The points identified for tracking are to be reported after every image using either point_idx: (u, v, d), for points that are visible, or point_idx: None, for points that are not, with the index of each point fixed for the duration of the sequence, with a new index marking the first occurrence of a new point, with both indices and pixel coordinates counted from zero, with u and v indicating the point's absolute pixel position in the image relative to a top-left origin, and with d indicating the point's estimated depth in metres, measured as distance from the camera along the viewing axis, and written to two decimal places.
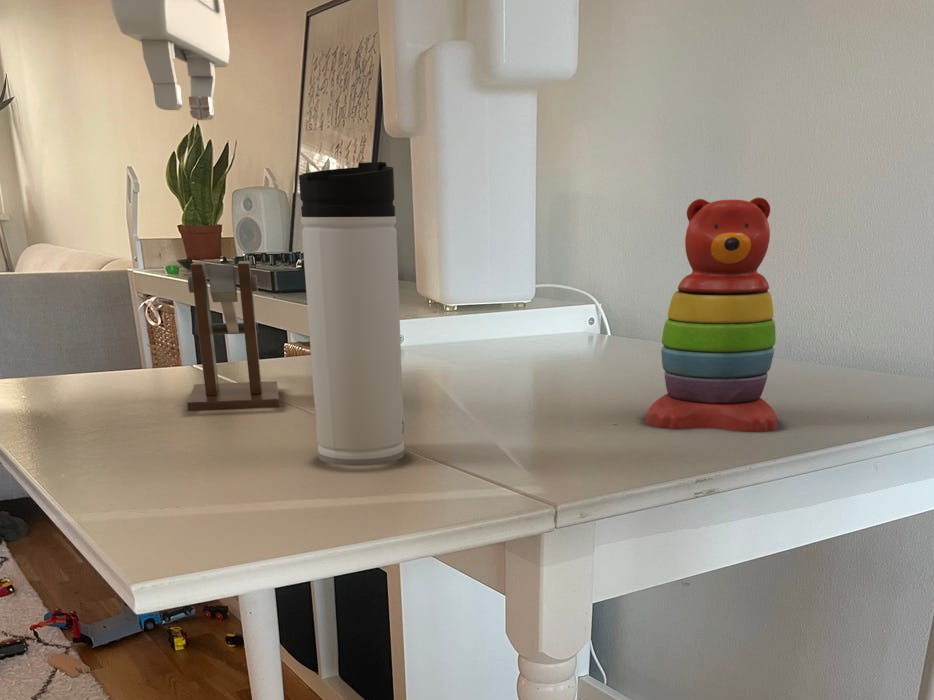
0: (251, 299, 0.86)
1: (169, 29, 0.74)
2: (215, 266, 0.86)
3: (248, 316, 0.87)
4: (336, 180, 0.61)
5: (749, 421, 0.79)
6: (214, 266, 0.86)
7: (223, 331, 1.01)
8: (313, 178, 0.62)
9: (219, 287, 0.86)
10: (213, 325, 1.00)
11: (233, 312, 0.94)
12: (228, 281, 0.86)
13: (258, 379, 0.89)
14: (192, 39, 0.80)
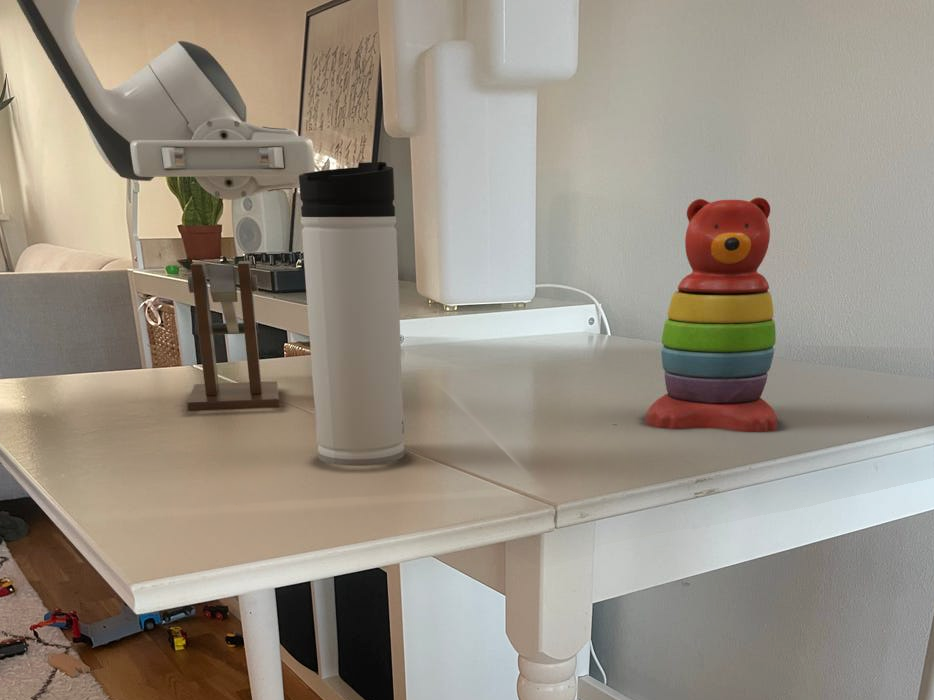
0: (251, 299, 0.86)
1: None
2: (215, 266, 0.86)
3: (248, 316, 0.87)
4: (336, 180, 0.61)
5: (749, 421, 0.79)
6: (214, 266, 0.86)
7: (223, 331, 1.01)
8: (313, 178, 0.62)
9: (219, 287, 0.86)
10: (213, 325, 1.00)
11: (233, 312, 0.94)
12: (228, 281, 0.86)
13: (258, 379, 0.89)
14: (246, 175, 1.11)
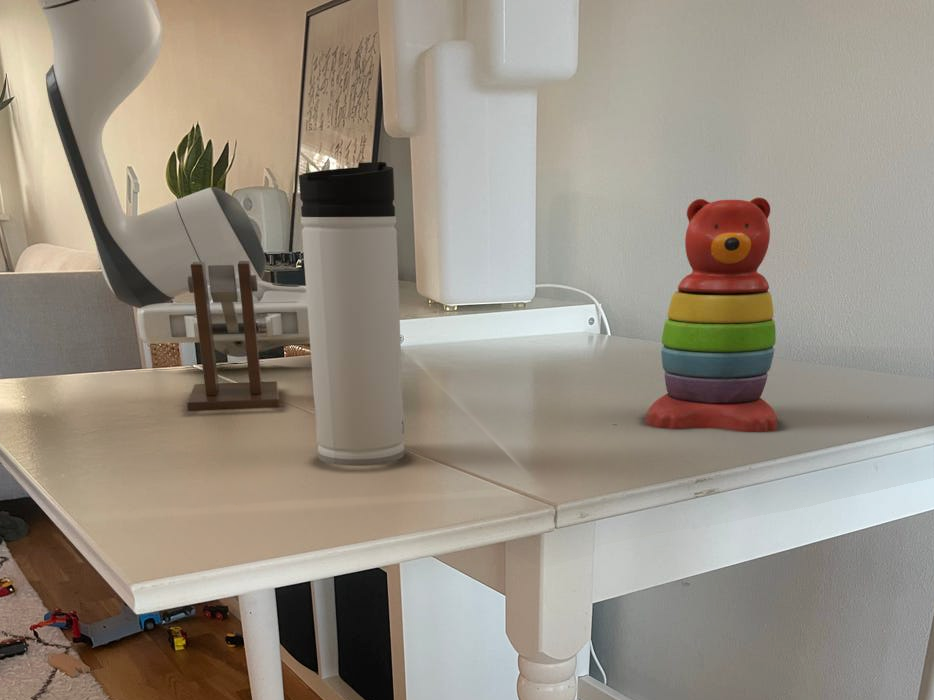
0: (251, 299, 0.86)
1: None
2: (215, 266, 0.86)
3: (248, 316, 0.87)
4: (336, 180, 0.61)
5: (749, 421, 0.79)
6: (214, 266, 0.86)
7: (223, 331, 1.01)
8: (313, 178, 0.62)
9: (219, 287, 0.86)
10: (213, 325, 1.00)
11: (233, 312, 0.94)
12: (228, 281, 0.86)
13: (258, 379, 0.89)
14: (257, 340, 1.06)
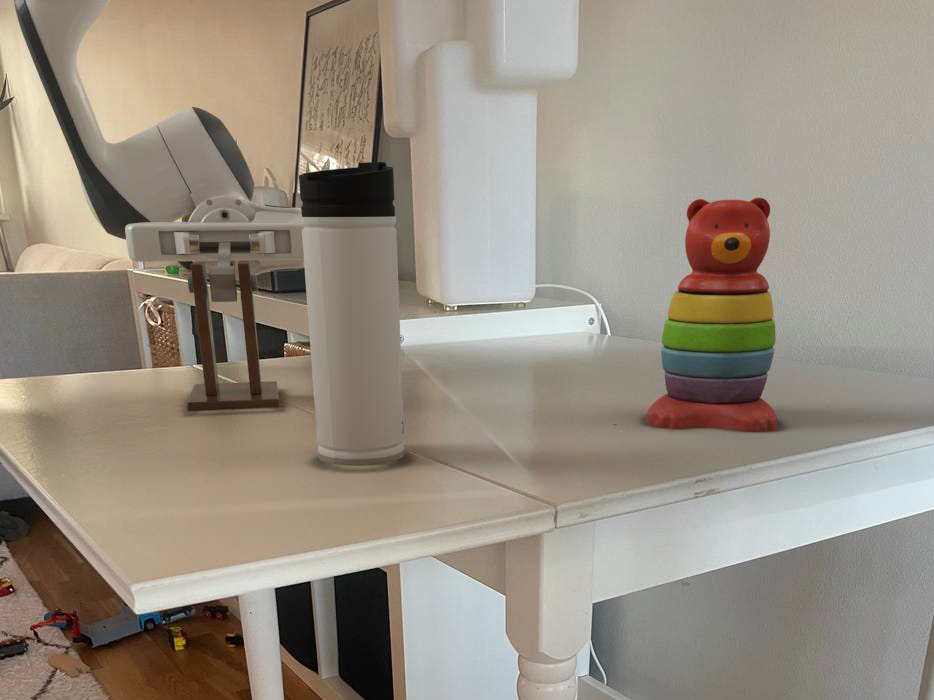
0: (251, 299, 0.86)
1: None
2: (216, 275, 0.85)
3: (248, 316, 0.87)
4: (336, 180, 0.61)
5: (749, 421, 0.79)
6: (215, 275, 0.85)
7: (215, 252, 0.98)
8: (313, 178, 0.62)
9: (220, 297, 0.87)
10: (204, 246, 0.98)
11: None
12: (229, 290, 0.86)
13: (258, 379, 0.89)
14: (249, 260, 1.03)
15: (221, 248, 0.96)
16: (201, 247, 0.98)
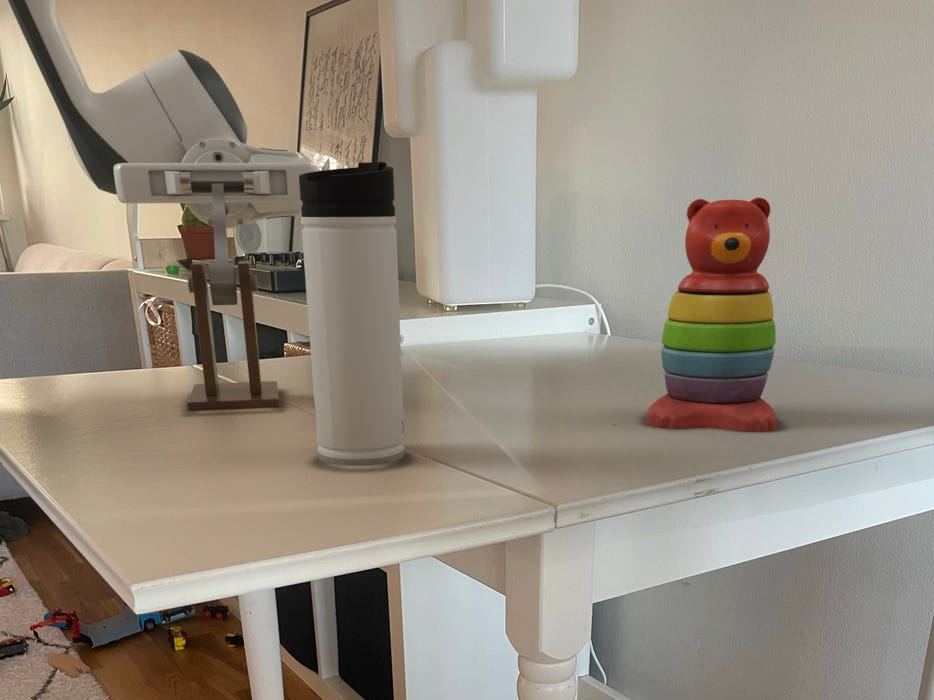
0: (251, 299, 0.86)
1: None
2: (217, 284, 0.86)
3: (248, 316, 0.87)
4: (336, 180, 0.61)
5: (749, 421, 0.79)
6: (215, 284, 0.86)
7: (207, 192, 0.94)
8: (313, 178, 0.62)
9: (221, 301, 0.87)
10: (196, 187, 0.93)
11: None
12: (230, 296, 0.87)
13: (258, 379, 0.89)
14: (244, 202, 0.99)
15: (215, 199, 0.92)
16: (193, 189, 0.93)
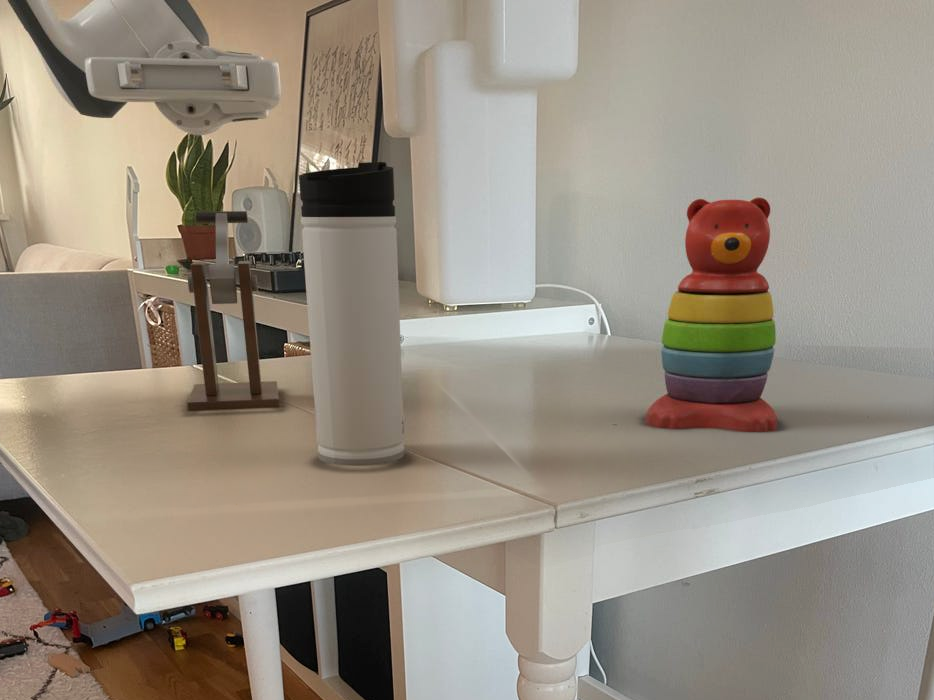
0: (251, 299, 0.86)
1: (264, 97, 1.06)
2: (216, 280, 0.86)
3: (248, 316, 0.87)
4: (336, 180, 0.61)
5: (749, 421, 0.79)
6: (215, 280, 0.86)
7: (211, 222, 0.97)
8: (313, 178, 0.62)
9: (221, 299, 0.87)
10: (201, 217, 0.96)
11: None
12: (229, 293, 0.87)
13: (258, 379, 0.89)
14: (208, 97, 1.05)
15: (218, 224, 0.94)
16: (197, 218, 0.96)
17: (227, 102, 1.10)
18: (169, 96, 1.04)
